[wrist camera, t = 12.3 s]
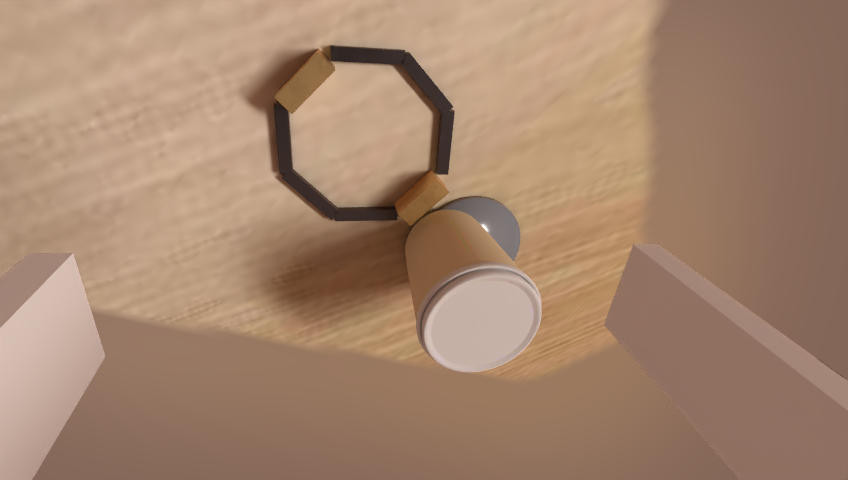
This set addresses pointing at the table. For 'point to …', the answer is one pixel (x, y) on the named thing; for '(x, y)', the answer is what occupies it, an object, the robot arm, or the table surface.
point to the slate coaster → (491, 220)
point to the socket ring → (310, 79)
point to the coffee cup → (468, 294)
